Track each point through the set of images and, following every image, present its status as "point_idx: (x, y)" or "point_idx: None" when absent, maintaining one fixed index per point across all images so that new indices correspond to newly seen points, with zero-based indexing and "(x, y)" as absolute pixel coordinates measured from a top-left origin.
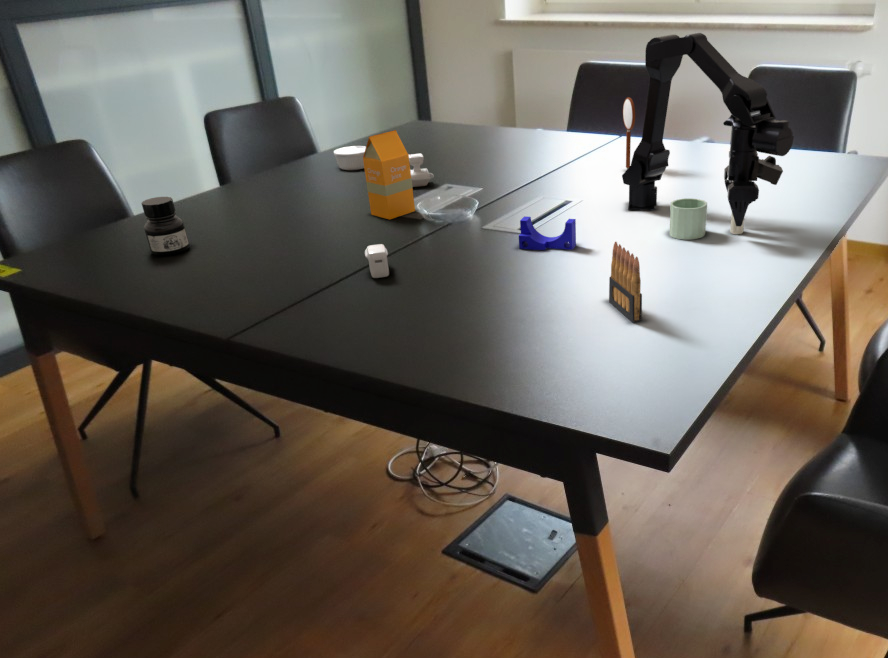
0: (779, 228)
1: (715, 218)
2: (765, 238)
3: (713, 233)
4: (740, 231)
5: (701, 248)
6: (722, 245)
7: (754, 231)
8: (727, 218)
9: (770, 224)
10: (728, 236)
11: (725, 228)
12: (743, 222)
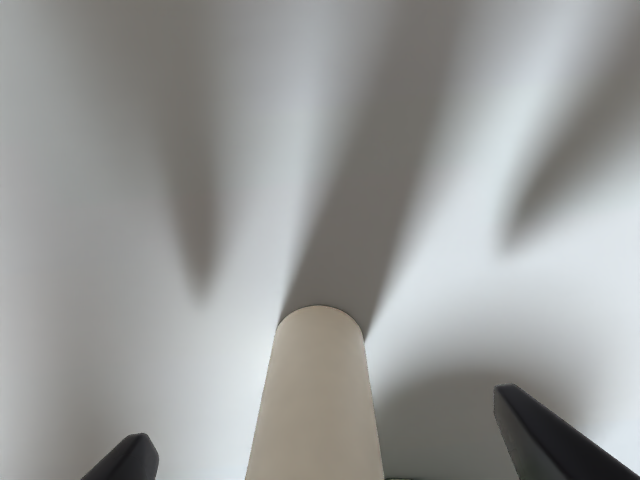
0: (96, 5)
1: (78, 465)
2: (431, 116)
3: None
4: (352, 328)
5: (636, 467)
6: (594, 384)
7: (259, 228)
8: (42, 415)
9: (17, 115)
10: (408, 373)
11: (248, 404)
12: (326, 364)
